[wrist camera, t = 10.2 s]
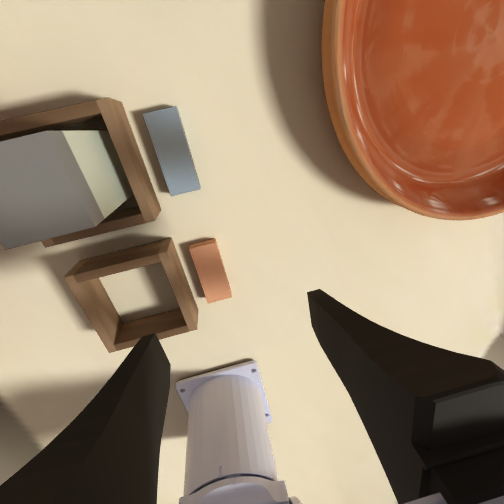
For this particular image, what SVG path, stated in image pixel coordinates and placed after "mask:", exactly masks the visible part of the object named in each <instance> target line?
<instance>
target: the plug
mask: <svg viewBox="0 0 504 504" xmlns="http://www.w3.org/2000/svg"><path fill="white" fill-rule="evenodd" d="M133 194H134V193H133V191H132V188H131V186H130V183H129V181H128V178H127V176H126V173H125V171H124V168H123V166H122V163H121V161H120V159H119V156H118V154H117V151H116V149H115V146H114V144H113V142H112V139H111V137H110V134H109V132H108V130H100V131H43V132H39V133H35V134H31V135H26V136H22V137H18V138H14V139H10V140H5V141H1V142H0V243H1V244H2V246H3V247H4V248H5V250H6V249H10V248H14V247H18V246H22V245H26V244H30V243H33V242H37V241H41V240H45V239H49V238H53V237H57V236H61V235H65V234H69V233H73V232H77V231H81V230H85V229H89V228H92V227H96V226H97V225H98V224H99V223H100V222H102V221H103V220H104V219H105V218H106V217H107V216H108V215H110V214H111V213H112V212H113V211H114V210H115V209H117V208H118V207H119V206H120V205H121V204H122V203H124V202H125V201H126V200H127V199H128V198H129V197H130V196H132V195H133Z"/></svg>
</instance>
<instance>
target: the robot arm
mask: <svg viewBox="0 0 504 504" xmlns="http://www.w3.org/2000/svg"><path fill="white" fill-rule="evenodd" d="M307 295H308V302H309V309H310V316H311V323H312V327H313V330H314V332H315V334H316V337H317V339H318V341H319V343H320V345H321V347H322V349H323V350H324V352H325V354H326V355H327V357H328V359H329V361H330V362H331V364H332V366H333V367H334V369H335V371H336V372H337V374H338V376H339V377H340V379H341V381H342V382H343V384H344V386H345V387H346V389H347V391H348V393H349V395H350V397H351V399H352V401H353V403H354V405H355V407H356V409H357V411H358V413H359V416H360V418H361V420H362V422H363V424H364V426H365V429H366V431H367V433H368V435H369V437H370V439H371V442H372V444H373V446H374V448H375V451H376V453H377V455H378V457H379V460H380V462H381V464H382V466H383V469H384V471H385V473H386V476H387V478H388V480H389V483H390V485H391V487H392V490H393V492H394V494H395V497H396V499H397V501H398V504H504V370H502V369H501V368H500V367H499V366H497V365H496V364H495V363H493V362H492V361H490V360H486V359H482V358H477V357H473V356H469V355H464V354H460V353H456V352H452V351H449V350H445V349H442V348H438V347H435V346H432V345H429V344H426V343H422V342H420V341H417V340H414V339H411V338H409V337H406V336H403V335H401V334H398V333H396V332H394V331H391V330H389V329H387V328H385V327H382V326H380V325H378V324H376V323H374V322H372V321H370V320H368V319H367V318H365V317H363V316H361V315H359V314H358V313H356V312H354V311H353V310H351V309H349V308H348V307H346V306H345V305H343V304H341V303H340V302H338V301H337V300H335V299H334V298H332V297H331V296H329V295H328V294H326V293H325V292H324V291H322V290H320V289H318V290H314V291H310V292H307ZM169 388H170V363H169V360H168V358H167V356H166V354H165V352H164V350H163V348H162V346H161V344H160V342H159V340H158V338H157V335H156V333H153V334H149V335H146V336H142V337H141V338H140V340H139V341H138V342H137V344H136V345H135V346H134V348H133V349H132V350H131V352H130V353H129V354H128V356H127V357H126V358H125V360H124V361H123V362H122V364H121V365H120V366H119V368H118V369H117V370H116V372H115V373H114V374H113V375H112V377H111V378H110V379H109V380H108V382H107V383H106V384H105V385H104V386H103V388H102V389H101V390H100V391H99V393H98V394H97V395H96V396H95V397H94V399H93V400H92V401H91V402H90V403H89V404H88V405H87V406H86V407H85V409H84V410H83V411H82V412H81V413H80V414H79V415H78V416H77V417H76V418H75V419H74V420H73V421H72V422H71V423H70V424H69V425H68V426H67V427H66V428H65V429H64V430H63V431H62V432H61V433H60V434H59V435H58V436H57V437H56V438H55V439H54V440H53V441H51V442H50V443H49V444H48V445H47V446H46V447H45V448H44V449H43V450H42V451H41V452H40V453H39V454H38V455H36V456H35V457H34V458H33V459H32V460H31V461H29V462H28V463H27V464H26V465H25V466H24V467H22V468H21V469H20V470H19V471H18V472H16V473H15V474H14V475H13V476H12V477H10V478H9V479H8V480H7V481H5V482H4V483H3V484H2V485H1V486H0V504H157V484H158V468H159V453H160V445H161V437H162V431H163V425H164V419H165V413H166V407H167V401H168V395H169ZM176 389H177V391H178V394H179V396H180V398H181V400H182V402H183V404H184V406H185V408H186V410H187V412H188V414H189V418H188V434H187V450H186V465H185V481H184V497H181V498H180V499H179V504H302V503H301V502H300V500H299V499H298V498H297V497H295V496H293V497H288V494H287V489H286V485H285V481H279V480H278V475H277V470H276V465H275V460H274V455H273V450H272V446H271V441H270V436H269V431H268V426H267V424H268V423H270V422H272V416H271V412H270V408H269V405H268V401H267V398H266V394H265V390H264V387H263V383H262V380H261V376H260V373H259V369H258V365H257V362H256V361H253V360H252V361H248V362H244V363H241V364H237V365H234V366H230V367H226V368H223V369H219V370H216V371H212V372H208V373H205V374H201V375H198V376H194V377H190V378H187V379H183V380H180V381H178V382H177V383H176Z"/></svg>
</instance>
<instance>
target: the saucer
mask: <svg viewBox="0 0 504 504" xmlns="http://www.w3.org/2000/svg"><path fill="white" fill-rule="evenodd" d="M322 69H323V81H324V88H325V94H326V100H327V104H328V109H329V113H330V116H331V120H332V124H333V126H334V129H335V132H336V135H337V137H338V140H339V142H340V145H341V147H342V148H343V150H344V152H345V154H346V156H347V158H348V159H349V161H350V162H351V164H352V166H353V167H354V168H355V170H356V171H357V172H358V173H359V175H360V176H361V177H362V178H363V179H364V181H365V182H366V183H367V184H368V185H369V186H370V187H372V188H373V189H374V190H375V191H377V192H378V193H379V194H380V195H381V196H383V197H384V198H386V199H388V200H390V201H391V202H393V203H395V204H397V205H399V206H401V207H403V208H406V209H408V210H410V211H412V212H415V213H417V214H420V215H423V216H427V217H432V218H437V219H444V220H471V219H478V218H484V217H488V216H492V215H496V214H499V213H502V212H504V0H325V4H324V13H323V24H322Z"/></svg>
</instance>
